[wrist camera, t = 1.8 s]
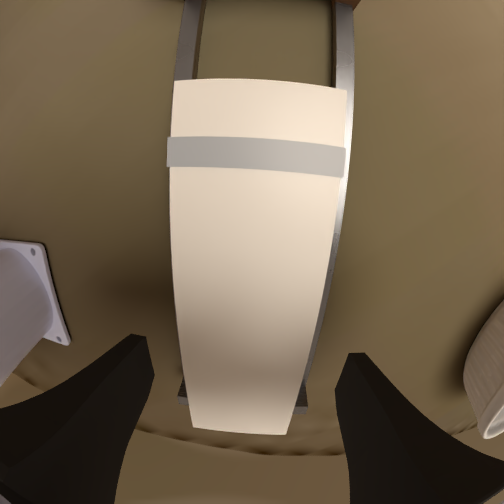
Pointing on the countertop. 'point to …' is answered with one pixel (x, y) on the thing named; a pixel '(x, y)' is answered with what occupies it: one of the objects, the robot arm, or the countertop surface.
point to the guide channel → (345, 81)
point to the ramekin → (487, 375)
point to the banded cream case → (251, 240)
